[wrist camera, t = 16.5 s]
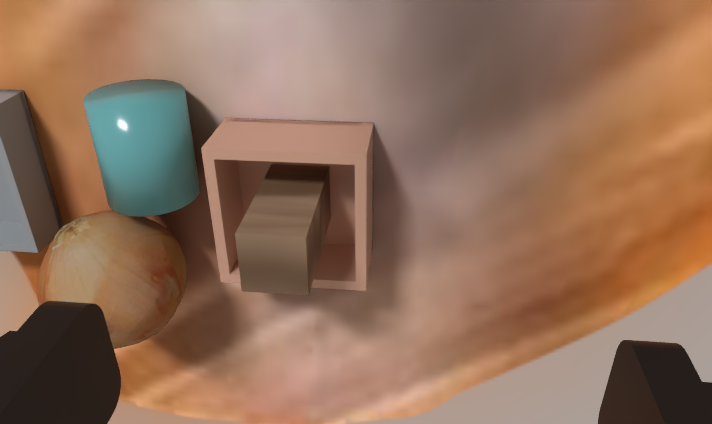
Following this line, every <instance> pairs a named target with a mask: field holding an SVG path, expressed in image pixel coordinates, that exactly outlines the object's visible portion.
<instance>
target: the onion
mask: <svg viewBox="0 0 712 424" xmlns="http://www.w3.org/2000/svg"><path fill="white" fill-rule="evenodd" d="M186 282H187V270H186V263H185V258H184V255H183V252H182V249H181V247H180V244H179V243H178V241H177V240H176V238H175V237H174V236H173V235H172V233H171V232H170V231H169V230H168V229H167V228H165V227H164V226H162V225H161V224H159V223H157V222H155V221H153V220H150V219H148V218H145V217H137V216H127V215H123V214H120V213H117V212H115V211H103V212H98V213H94V214H90V215H85V216H82V217H80V218H77V219H76V220H74V221H72V222H70V223H68V224H66V225H64V226H63V227H62V228H61V229H60V230H59V231H58V232H57V234H56V235H55V237H54V240H53V241H52V242H51V244H50V245H49V247H48V250H47V252H46V254H45V256H44V258H43V261H42V264H41V267H40V270H39V272H38V280H37V297H38V302H39V306H40V305H41V304H43V303H44V302H47V301H63V302H78V303H93V304H97V305H98V306H99V307H100V308H101V309H102V311H103V314H104V317H105V320H106V324H107V327H108V331H109V335H110V338H111V342H112V345H113V349H116V348H121V347H126V346H129V345H133V344H137V343H140V342H142V341H144V340H146V339H148V338H150V337H151V336H153V335H155V334H157V333H158V332H159V331H160V330H161V329H162V328H163V327H164V326H165V325H166V324H167V323H168V322H169V320H170V319H171V318H172V316H173V315H174V313H175V311H176V309H177V306H178V305H179V303H180V301H181V299H182V297H183V294H184V291H185V287H186Z"/></svg>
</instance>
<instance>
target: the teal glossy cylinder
mask: <svg viewBox="0 0 712 424" xmlns="http://www.w3.org/2000/svg"><path fill="white" fill-rule="evenodd" d="M83 103H84V107H85V111H86V115H87V119H88V123H89V127H90V131H91V135H92V139H93V144H94V148H95V152H96V156H97V160H98V164H99V168H100V172H101V176H102V180H103V184H104V189H105V193H106V197H107V201H108V205H109V207H110V208H111V209H112V210H114V211H115V212H117V213H120V214H123V215H127V216H137V217H144V216H155V215H161V214H166V213H169V212H173V211H175V210H178V209H180V208H183V207H185V206H187V205H188V204H190V203H191V202H192V201H194V200H195V199H196V198H197V196H198V195H199V193H200V184H199V177H198V171H197V164H196V158H195V151H194V145H193V138H192V132H191V126H190V119H189V113H188V106H187V100H186V93H185V88H184V87H183V86H182V85H180V84H179V83H176V82H172V81H167V80H152V79H143V80H131V81H124V82H119V83H114V84H110V85H106V86H103V87H100V88H98V89H95V90H93V91H92V92H90V93H88V94H87V95H86V96H85V97H84V99H83Z"/></svg>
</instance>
